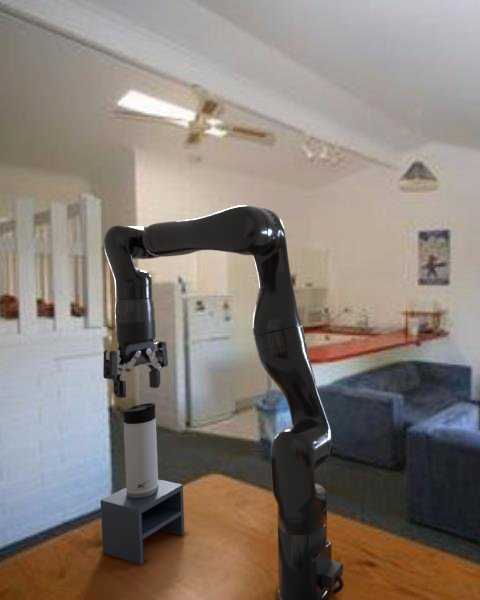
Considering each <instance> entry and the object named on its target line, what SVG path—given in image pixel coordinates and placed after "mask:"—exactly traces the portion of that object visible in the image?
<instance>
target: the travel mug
mask: <svg viewBox="0 0 480 600" xmlns="http://www.w3.org/2000/svg"><path fill="white" fill-rule="evenodd" d="M157 438H158V437H157V417H156V403H154V402H153V403H151V402H150V403H149V402H148V403H141V404H136V405H131V407H129V408H127V409H126V408H125V409H123V443H124V444H123V445H124V463H125V464H124V465H125V483H126V484H125V486H126V487H125V488H127V496H128V497H130V498H135V499H136V498H144V497H148V496H150V495H152V494H154V493H155V492H157V490H158V479H159V467H158V466H159V465H158V446H157V445H158V441H157V440H158V439H157Z"/></svg>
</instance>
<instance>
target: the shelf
mask: <svg viewBox="0 0 480 600" xmlns="http://www.w3.org/2000/svg"><path fill="white" fill-rule="evenodd" d="M99 501H100V519H101V536H102V537H101V539H102V553H103V554H105V555H108V556H112V557H116V558H119V559H121V560H124V561H128V562H131V563H135V564H138V565H142V564H143V563H144V541H143V540H144V539H146V538H148V537H149V536H151V535H152V534H154V533H156V532H157V531H159V530H160V531H163V532H166V533H169V534H170V533H171V534H174V535H177V536H184V535H185V533H186V532H185V505H184V485H183V484H182V483H177V482H172V481H168V480H164V479H159V478H158V490H157V492H155V493H154V494H152V495H150V496H148V497H144V498H136V499H135V498H130V497H128V496H127V488H126V487H124V488H121V489H120V490H118V491H115V492H114V493H112V494H110V495H108V496H106V497H103V498H101V499H100V500H99Z"/></svg>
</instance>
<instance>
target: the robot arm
mask: <svg viewBox="0 0 480 600" xmlns="http://www.w3.org/2000/svg"><path fill="white" fill-rule="evenodd" d="M285 231H286V230H285V227H284V224H283V221H282V219H281V218H280V216H279V215H278V214H277V213H276V212H275V211H273V210H271V209H268V208H264V207H258V206H251V205H243V204H242V205H241V204H240V205H237V206H233V207H230V208H227V209H223V210H221V211H218V212H214V213H213V214H209V215H205V216H202V217H197V218H192V219H180V220H171V221H163V222H155V223H153V224H149V225H148V226H133V225H121V224H119V225H113V226H111V227H109V228H108V230H107V231H106V232H105V234H104V237H103V248H104V249H103V250H104V252H105V255H106V258H107V261H108V264H109V267H110V270H111V273H112V275H113V279H114V287H115V291H114V292H115V305H114V319H115V320H114V321H115V322H114V323H115V340H116V341H117V343H118V347H117V349H114V350H113V349H112V350H111V349H105V350H104V351H103V365H102V366H103V368H102V369H103V371H102V372H103V373H102V375H103V376H102V377H103V379H105V380H112V383H113V394H114V396H115V397H116V398H119V399H124V398H127V384H126V383H127V381H126V377H127V375H128V373H129V372H131V371H132V370H133V368H134V367H138V366H140V365H146V366H147V368H148V369H149V370H150V371H148V376H149V378H148V380H149V387H150V388H151V389H152V388H153V389H158V388H160V385H161V371H162V369H163V368H165V367H168V366H169V358H168V348H167V341H165V340H155V339H156V338H157V337H156V336H157V335H156V334H157V333H156V310H155V309H156V307H155V303H154V293H153V290H154V289H153V288H154V287H153V277H152V274H151V273H150V272H149V271H147V270H143V269H139V268H138V267H137V265H136V263H135V261H134V260H151V259H156V258H162V257H163V258H165V257H178V256H185V255H190V254H191V255H192V254H194V253H197V252H201V251H215V252H216V251H217V252H225V253H230V254H231V253H232V254H237V255H241V256H252V259H253V261H254V264H255V270H256V273H257V279H258V287H257V297H256V301H255V304H254V309H253V313H252V314H253V315H252V321H251V322H252V323H251V327H252V328H251V329H252V335H253V339H254V344H255V348H256V352H257V356H258V360H259V362H260V364H261V366H262V367H263V369H264V371H265V372H266V373H267V375H268V376H269V377H270V379H271V380H272V381H273V382H274V383H275V384H276V386H277V387H278V388H279V390H280V391H281V392H282V394H283V396H284V398H285V400H286V403H287V407H288V409H289V414H290V419H291V420H290V421H291V425H290V426H289V427H287V428H285V429H283V430H281V431H280V432H278V433H277V434H276V435H275V436H274V438H273V439H272V443H271V447H270V453H269V454H270V457H269V458H270V459H269V461H270V474H271V486H272V487H271V488H272V494H273V497H274V499H275V502H276V505H277V507H276V508H277V564H278V565H277V566H278V567H277V568H278V574H277V575H278V591H277V593H278V594H277V596H278V600H324V599H325V598H326V597H327V595H328V594H329V592H330V591H331V590H332V589H333V590H332V594H333V595H337V594H338V593H339V592H341V591H342V589H343V588H344V585H345V584H344V583H345V582H344V580H343V578H342V576H343V575H344V563H343V562H341V561H337V560H333V559H332V555H333V552H332V551H333V550H332V549H333V548H332V545H333V544H332V542H331V541H329V540H328V494H327V490H326V489H325V488H324V486H323V485H321V484H319V483H316V479H315V470H316V469H318V468H319V467H320V466H322V465H323V464H324V463H326V462H327V461H328V459H330V457H331V456H332V453H333V450H334V437H333V432H332V429H331V425H330V423H329V420H328V417H327V413H326V411H325V408H324V405H323V403H322V399H321V397H320V393H319V390H318V386H317V383H316V379H315V374H314V371H313V366H312V363H311V359H310V354H309V350H308V349H309V348H308V344H307V339H306V336H305V331H304V327H303V322H302V318H301V315H300V312H299V307H298V303H297V298H296V294H295V289H294V283H293V280H292V274H291V268H290V260H289V253H288V244H287V237H286V232H285ZM154 340H155V341H154ZM337 583H338V586H337V587H335V586H336V585H337ZM334 587H335V588H334Z"/></svg>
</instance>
